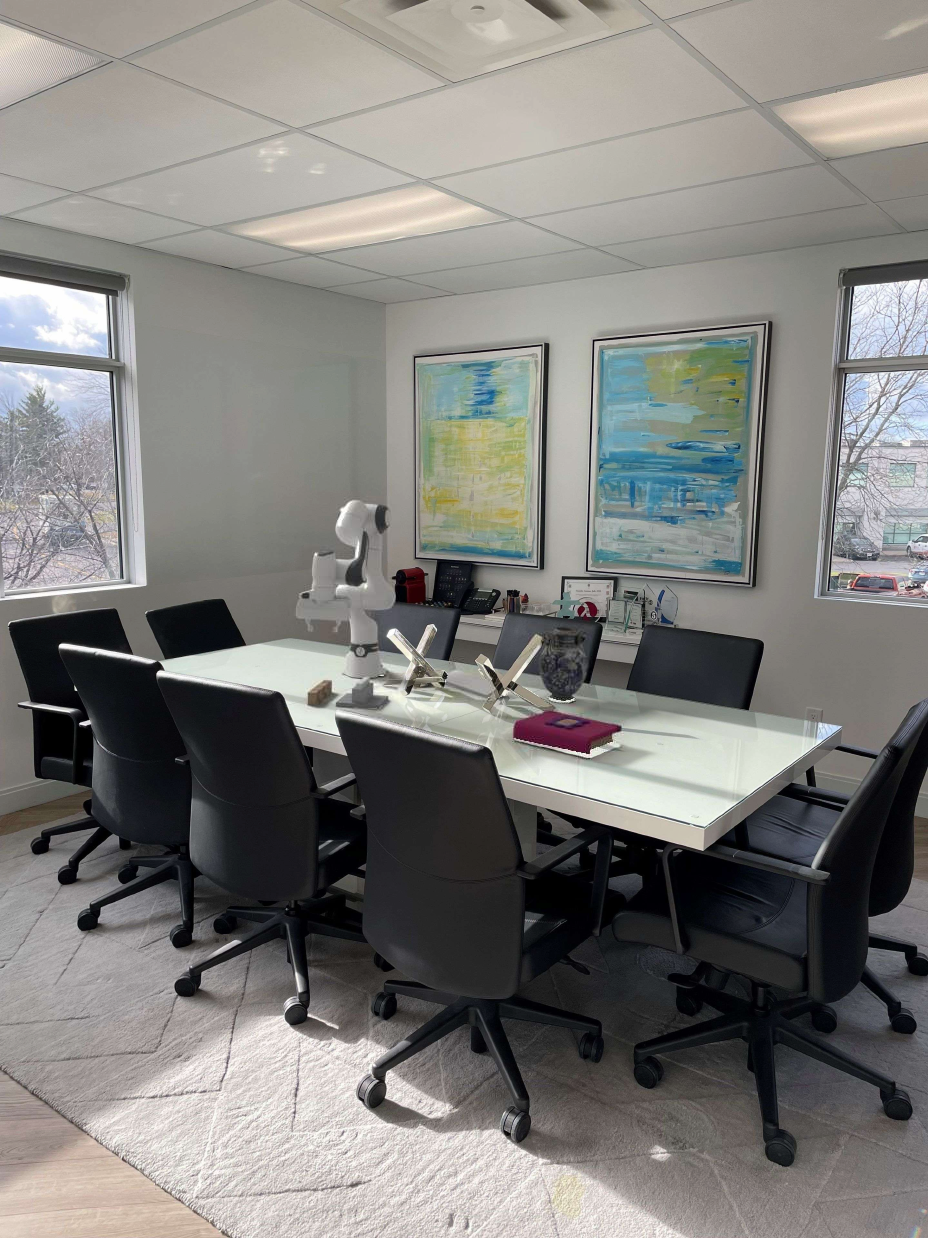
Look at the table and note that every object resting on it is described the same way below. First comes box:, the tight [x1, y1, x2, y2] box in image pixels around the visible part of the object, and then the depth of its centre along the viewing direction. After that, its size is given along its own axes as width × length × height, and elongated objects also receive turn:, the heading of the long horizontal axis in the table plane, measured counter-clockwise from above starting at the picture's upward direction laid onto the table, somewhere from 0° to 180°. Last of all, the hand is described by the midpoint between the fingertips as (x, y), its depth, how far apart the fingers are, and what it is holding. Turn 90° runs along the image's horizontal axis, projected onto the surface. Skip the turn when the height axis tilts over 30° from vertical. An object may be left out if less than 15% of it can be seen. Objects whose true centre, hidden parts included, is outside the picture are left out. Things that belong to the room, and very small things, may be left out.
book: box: [512, 710, 622, 754], centre depth 285 cm, size 21×28×8 cm
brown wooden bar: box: [307, 679, 333, 707], centre depth 334 cm, size 22×3×5 cm, turn 173°
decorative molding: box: [445, 669, 494, 699], centre depth 359 cm, size 34×5×10 cm
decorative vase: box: [538, 626, 589, 701], centre depth 343 cm, size 21×19×28 cm
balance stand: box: [335, 677, 390, 710], centre depth 329 cm, size 15×16×8 cm
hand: (322, 631), depth 332 cm, fingers open, 8 cm apart
